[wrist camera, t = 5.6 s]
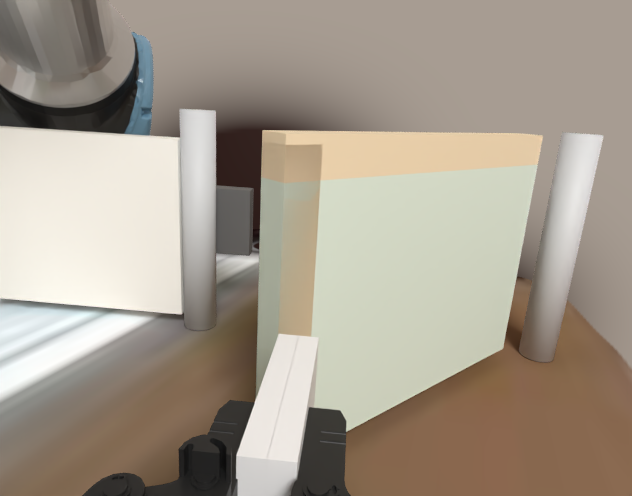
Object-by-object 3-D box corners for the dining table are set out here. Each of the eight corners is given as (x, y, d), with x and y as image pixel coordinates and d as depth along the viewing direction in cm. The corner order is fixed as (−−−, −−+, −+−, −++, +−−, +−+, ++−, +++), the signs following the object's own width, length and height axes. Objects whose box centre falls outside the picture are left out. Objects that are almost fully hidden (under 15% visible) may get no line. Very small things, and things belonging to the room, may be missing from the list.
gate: (484, 340, 35) (520, 133, 31) (503, 348, 34) (543, 135, 30) (254, 452, 23) (262, 130, 19) (272, 470, 22) (286, 133, 17)
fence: (19, 295, 41) (-6, 96, 36) (541, 341, 38) (586, 133, 33) (-10, 311, 37) (-42, 95, 33) (559, 363, 35) (610, 136, 30)
